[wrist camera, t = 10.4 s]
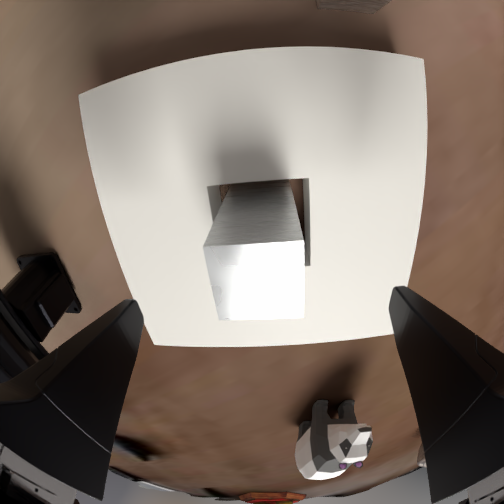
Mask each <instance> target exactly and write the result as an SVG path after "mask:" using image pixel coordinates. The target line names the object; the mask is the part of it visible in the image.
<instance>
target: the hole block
mask: <svg viewBox="0 0 504 504" xmlns="http://www.w3.org/2000/svg"><path fill="white" fill-rule="evenodd" d="M78 96H79V104H80V111H81V117H82V124H83V129H84V135H85V140H86V145H87V150H88V155H89V160H90V164H91V169H92V173H93V177H94V181H95V185H96V189H97V193H98V196H99V200H100V204H101V207H102V211H103V214H104V217H105V221H106V224H107V227H108V230H109V233H110V236H111V239H112V242H113V245H114V248H115V251H116V254H117V257H118V260H119V262H120V265H121V268H122V271H123V273H124V276H125V278H126V281H127V284H128V286H129V289H130V291H131V294H132V296H133V298H134V300H136V301H137V302H138V305H139V307H140V309H141V312H142V314H143V317H144V324H145V326H146V328H147V330H148V332H149V335H150V337H151V339H152V341H153V343H154V345H167V346H194V347H251V346H278V345H296V344H310V343H322V342H333V341H342V340H351V339H360V338H367V337H375V336H382V335H389V334H394V332H393V327H392V323H391V319H390V314H389V302H390V298H391V294H392V290H393V288H394V287H395V286H406V287H407V285H408V281H409V276H410V272H411V267H412V263H413V258H414V253H415V248H416V242H417V237H418V231H419V224H420V218H421V210H422V203H423V194H424V184H425V172H426V155H427V97H426V81H425V69H424V60H423V59H421V58H416V57H411V56H406V55H401V54H395V53H388V52H382V51H374V50H365V49H355V48H341V47H311V46H304V47H274V48H260V49H250V50H241V51H233V52H225V53H219V54H213V55H207V56H202V57H196V58H192V59H187V60H182V61H178V62H174V63H170V64H166V65H162V66H158V67H155V68H151V69H148V70H144V71H141V72H138V73H135V74H131V75H128V76H125V77H122V78H120V79H117V80H114V81H111V82H109V83H106V84H103V85H101V86H98V87H96V88H93V89H91V90H89V91H86V92H84V93H82V94H79V95H78ZM298 178H303V197H304V230H305V241H304V316H303V317H298V318H280V319H256V320H219V318H218V314H217V310H216V306H215V301H214V297H213V292H212V288H211V283H210V279H209V274H208V270H207V265H206V260H205V256H204V251H203V245H204V243H205V241H206V238H207V236H208V234H209V231H210V229H211V227H212V225H213V222H214V220H215V218H216V216H217V213H218V211H219V209H220V207H221V204H222V201H221V195H220V188H219V185H222V184H232V183H243V182H254V181H267V180H281V179H298Z"/></svg>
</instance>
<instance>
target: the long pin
mask: <svg viewBox="0 0 504 504" xmlns="http://www.w3.org/2000/svg"><path fill="white" fill-rule="evenodd" d="M203 251H204V256H205V260H206V265H207V270H208V274H209V279H210V283H211V288H212V292H213V297H214V301H215V306H216V310H217V314H218V318H219V320H256V319H280V318H298V317H303V316H304V239H303V235H302V230H301V226H300V222H299V218H298V214H297V209H296V205H295V201H294V197H293V193H292V189H291V186H290V182H289V179H281V180H267V181H254V182H243V183H232V184H231V185H230V187H229V189H228V191H227V194H226V196H225V198H224V200H223V202H222V204H221V207H220V209H219V211H218V213H217V216H216V218H215V220H214V222H213V225H212V227H211V229H210V231H209V234H208V236H207V238H206V241H205V243H204V245H203Z"/></svg>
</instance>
